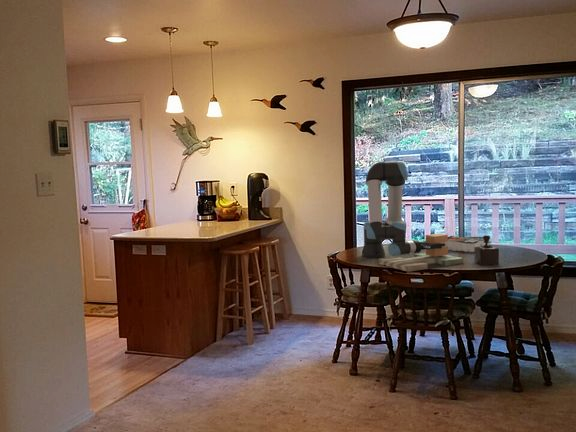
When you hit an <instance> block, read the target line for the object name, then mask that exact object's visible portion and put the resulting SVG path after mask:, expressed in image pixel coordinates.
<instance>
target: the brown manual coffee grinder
mask: <svg viewBox="0 0 576 432" xmlns="http://www.w3.org/2000/svg"><path fill="white" fill-rule="evenodd" d="M482 237H483V239H484V243H485V244H483V245H481V244H480V245H481V246H478V247H474V252H473V253H474V254H473V255H474V256H473V257H474V259H473V261H474V263H475V264H477V265H480V266H494V265H493V264H498V265H499V262H500V261H499V259H500V258H499V257H500V248H498V247H495V246H492V245H491V244H492V240H491V236H490V235H489V234H484V235H483V236H482Z"/></svg>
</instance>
